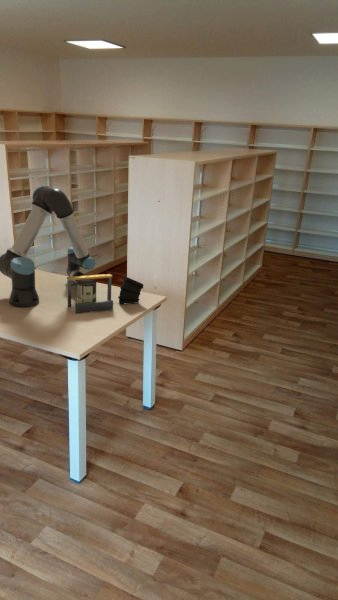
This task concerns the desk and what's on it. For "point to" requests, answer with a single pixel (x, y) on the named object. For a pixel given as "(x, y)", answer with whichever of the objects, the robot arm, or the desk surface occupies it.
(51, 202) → the robot arm
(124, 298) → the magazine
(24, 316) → the desk surface
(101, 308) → the retention bracket
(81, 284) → the coffee can
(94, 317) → the desk surface
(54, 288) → the desk surface
